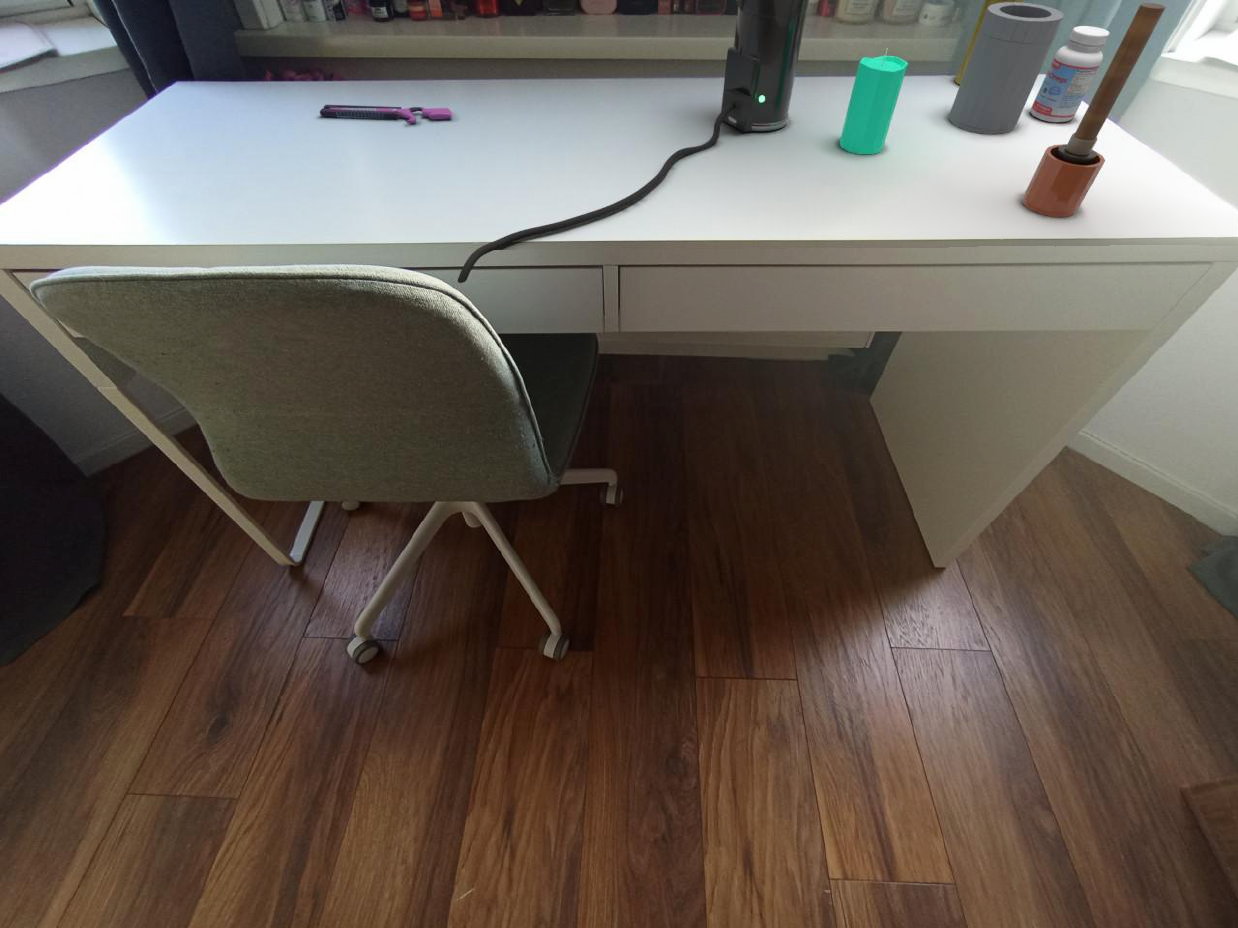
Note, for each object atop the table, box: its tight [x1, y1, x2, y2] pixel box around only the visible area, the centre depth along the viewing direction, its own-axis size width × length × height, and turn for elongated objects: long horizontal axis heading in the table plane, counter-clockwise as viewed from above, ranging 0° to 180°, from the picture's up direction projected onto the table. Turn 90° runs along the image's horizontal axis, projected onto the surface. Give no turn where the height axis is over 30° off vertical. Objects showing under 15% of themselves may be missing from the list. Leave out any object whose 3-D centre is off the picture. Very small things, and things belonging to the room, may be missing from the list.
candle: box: [839, 47, 909, 155], centre depth 86 cm, size 6×6×12 cm
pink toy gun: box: [319, 104, 453, 124], centre depth 97 cm, size 21×1×5 cm
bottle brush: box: [1054, 2, 1166, 165], centre depth 71 cm, size 4×4×20 cm
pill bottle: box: [1030, 25, 1110, 123], centre depth 93 cm, size 6×6×11 cm
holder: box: [1021, 143, 1106, 218], centre depth 76 cm, size 6×6×6 cm
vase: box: [954, 0, 1024, 86], centre depth 102 cm, size 6×6×14 cm
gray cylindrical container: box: [948, 2, 1065, 135], centre depth 91 cm, size 9×9×14 cm
